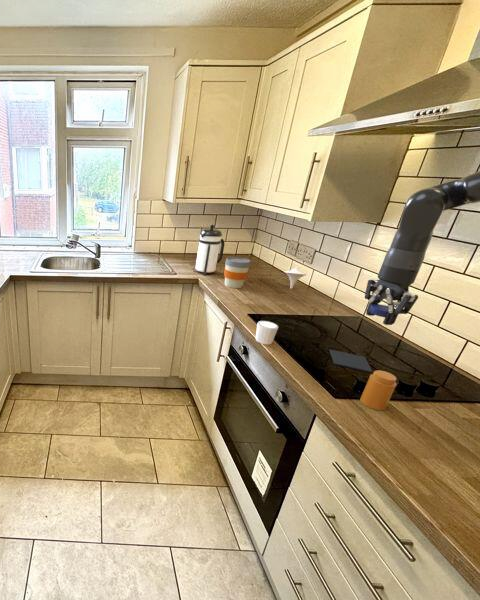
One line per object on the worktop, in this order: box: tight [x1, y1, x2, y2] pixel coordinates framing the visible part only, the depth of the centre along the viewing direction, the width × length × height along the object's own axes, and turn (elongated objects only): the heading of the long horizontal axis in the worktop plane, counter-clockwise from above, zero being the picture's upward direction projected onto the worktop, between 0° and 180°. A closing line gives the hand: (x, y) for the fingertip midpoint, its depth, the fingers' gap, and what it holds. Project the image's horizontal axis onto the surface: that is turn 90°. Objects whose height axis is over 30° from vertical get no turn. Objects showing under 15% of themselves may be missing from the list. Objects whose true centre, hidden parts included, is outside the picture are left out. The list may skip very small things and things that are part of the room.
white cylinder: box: [255, 320, 279, 346], centre depth 119 cm, size 7×7×7 cm
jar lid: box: [369, 303, 396, 318], centre depth 92 cm, size 6×6×2 cm
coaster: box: [328, 349, 374, 374], centre depth 107 cm, size 10×10×1 cm
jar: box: [359, 369, 397, 411], centre depth 86 cm, size 5×5×10 cm
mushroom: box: [283, 267, 308, 290], centre depth 171 cm, size 10×11×12 cm
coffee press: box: [194, 224, 225, 276], centre depth 196 cm, size 17×16×30 cm
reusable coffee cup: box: [223, 256, 251, 289], centre depth 175 cm, size 13×13×15 cm
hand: (378, 319), depth 93 cm, fingers closed on jar lid, 5 cm apart
